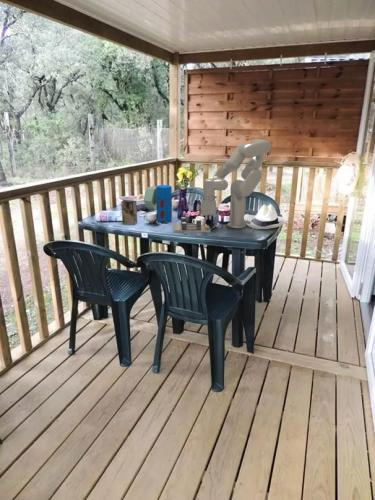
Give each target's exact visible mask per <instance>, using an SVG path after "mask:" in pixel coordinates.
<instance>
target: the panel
mask: <svg viewBox="0 0 375 500" xmlns="http://www.w3.org/2000/svg"><path fill="white" fill-rule="evenodd" d="M186 223H187V222H186ZM195 223H196V222H193V223H191V222H189V223H187V229H182V224H181V222H179V223H175V222H174V223H172V229H173V233H177V234H178V233H179V234H181V233H183V234H184V233H187V234H188V233H196V234H197V233H211V228H210V225H209V226H207V224H205V225H201V227H197V226H196V224H195Z"/></svg>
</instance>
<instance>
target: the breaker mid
mask: <svg viewBox="0 0 375 500" xmlns="http://www.w3.org/2000/svg"><path fill="white" fill-rule="evenodd" d="M195 223H196V226H197V227H201V223H202V220H201V219H196V221H195Z"/></svg>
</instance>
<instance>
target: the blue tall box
mask: <svg viewBox="0 0 375 500" xmlns="http://www.w3.org/2000/svg"><path fill="white" fill-rule="evenodd" d="M172 190H173V189H172V185H169V184H159V185H156V205H157V210H156V222H157V223H159V224H168V223H171V222H172V219H173V205H172V203H173V197H172V196H173V193H172V192H173V191H172Z"/></svg>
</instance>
